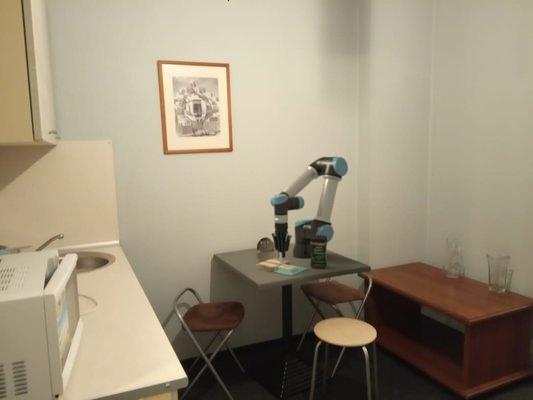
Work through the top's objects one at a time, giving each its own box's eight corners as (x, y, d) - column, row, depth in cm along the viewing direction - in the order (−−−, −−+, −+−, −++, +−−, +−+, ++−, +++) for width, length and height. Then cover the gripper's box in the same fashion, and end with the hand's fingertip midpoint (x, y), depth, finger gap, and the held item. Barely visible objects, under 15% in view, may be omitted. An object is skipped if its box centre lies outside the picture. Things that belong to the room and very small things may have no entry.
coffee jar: (309, 268, 228) (309, 236, 226) (312, 264, 236) (311, 233, 234) (326, 269, 225) (326, 237, 223) (328, 265, 233) (328, 234, 231)
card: (284, 266, 231) (284, 264, 231) (296, 269, 226) (296, 266, 225) (277, 269, 227) (277, 266, 227) (290, 272, 221) (290, 269, 221)
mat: (289, 265, 235) (289, 264, 235) (307, 269, 227) (307, 268, 227) (272, 272, 223) (272, 271, 223) (290, 276, 215) (290, 275, 215)
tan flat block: (273, 262, 243) (273, 258, 243) (289, 265, 236) (289, 261, 235) (256, 268, 231) (255, 264, 231) (272, 272, 223) (272, 267, 223)
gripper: (268, 222, 227) (269, 262, 230) (286, 224, 219) (287, 266, 222) (276, 220, 233) (277, 259, 236) (294, 222, 225) (295, 263, 227)
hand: (282, 263), depth 229 cm, fingers closed
